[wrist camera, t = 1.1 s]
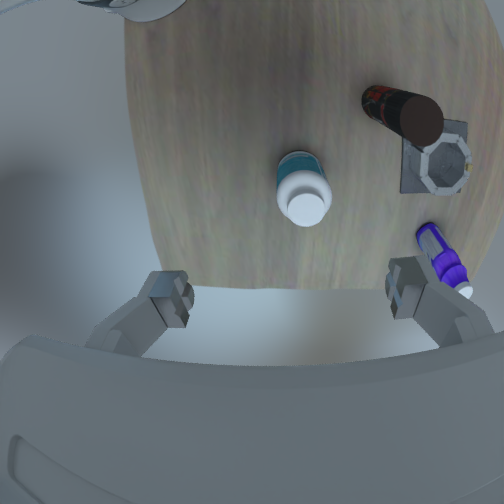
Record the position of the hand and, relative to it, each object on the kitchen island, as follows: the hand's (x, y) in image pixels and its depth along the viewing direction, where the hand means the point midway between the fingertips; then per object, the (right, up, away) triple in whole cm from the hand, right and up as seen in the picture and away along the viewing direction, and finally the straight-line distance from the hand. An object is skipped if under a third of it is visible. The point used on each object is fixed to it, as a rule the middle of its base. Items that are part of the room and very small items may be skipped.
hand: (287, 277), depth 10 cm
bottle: (+35, +5, +36) cm, 50 cm away
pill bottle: (+7, +14, +32) cm, 36 cm away
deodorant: (+18, +24, +23) cm, 38 cm away
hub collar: (+31, +18, +26) cm, 44 cm away
